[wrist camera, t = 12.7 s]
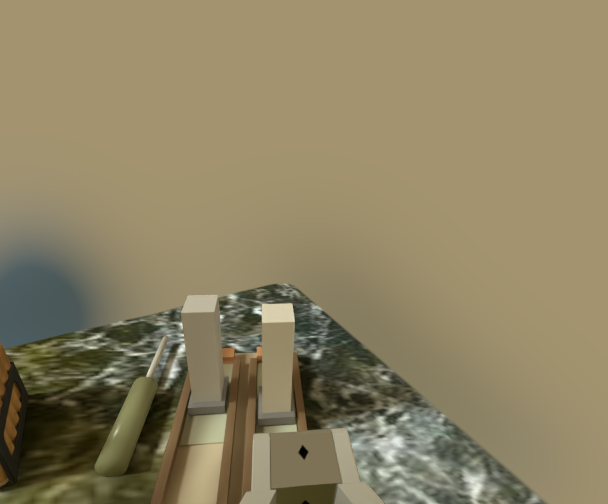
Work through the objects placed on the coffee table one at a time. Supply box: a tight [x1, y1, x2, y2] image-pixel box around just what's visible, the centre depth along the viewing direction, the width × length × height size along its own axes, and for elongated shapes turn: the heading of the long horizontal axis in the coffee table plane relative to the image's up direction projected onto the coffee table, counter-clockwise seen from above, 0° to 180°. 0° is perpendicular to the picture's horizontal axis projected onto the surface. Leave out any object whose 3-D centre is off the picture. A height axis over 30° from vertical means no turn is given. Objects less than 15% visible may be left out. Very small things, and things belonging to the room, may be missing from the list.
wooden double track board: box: [150, 347, 307, 504], centre depth 28 cm, size 13×29×2 cm, turn 6°
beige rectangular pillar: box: [258, 304, 295, 426], centre depth 31 cm, size 4×4×12 cm
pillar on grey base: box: [181, 295, 229, 415], centre depth 32 cm, size 4×4×12 cm
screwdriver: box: [94, 336, 168, 477], centre depth 35 cm, size 17×3×3 cm, turn 6°
